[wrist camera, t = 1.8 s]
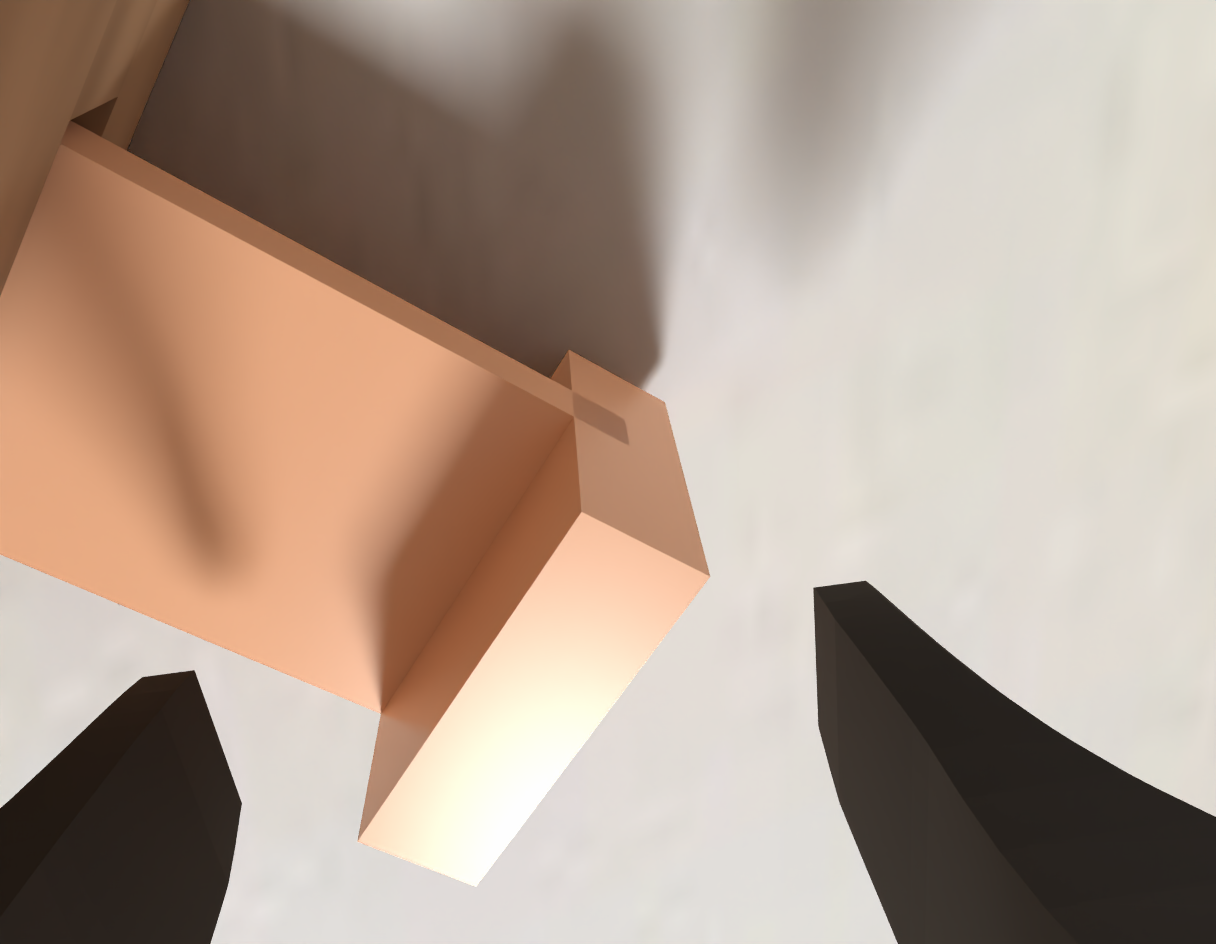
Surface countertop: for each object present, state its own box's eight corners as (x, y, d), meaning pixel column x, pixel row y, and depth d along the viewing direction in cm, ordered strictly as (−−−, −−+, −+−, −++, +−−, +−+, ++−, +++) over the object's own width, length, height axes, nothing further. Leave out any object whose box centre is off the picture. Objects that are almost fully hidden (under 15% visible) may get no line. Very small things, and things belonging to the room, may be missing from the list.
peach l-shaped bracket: (664, 402, 16) (710, 577, 12) (489, 660, 18) (476, 886, 14) (-406, -188, 12) (-881, -226, 8) (-487, 224, 14) (-908, 360, 10)
